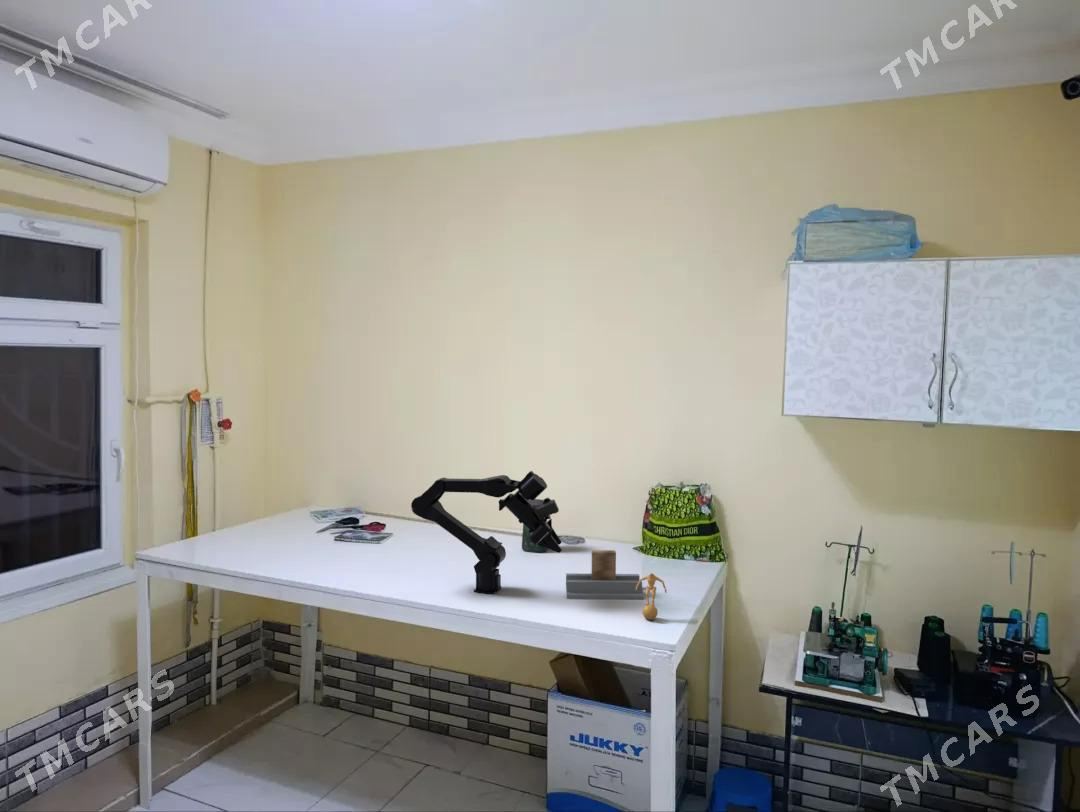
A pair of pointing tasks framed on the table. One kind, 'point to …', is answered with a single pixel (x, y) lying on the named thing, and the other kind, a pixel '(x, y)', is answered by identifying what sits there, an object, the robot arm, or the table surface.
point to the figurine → (650, 609)
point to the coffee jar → (526, 542)
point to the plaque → (603, 565)
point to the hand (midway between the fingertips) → (560, 547)
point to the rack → (603, 587)
